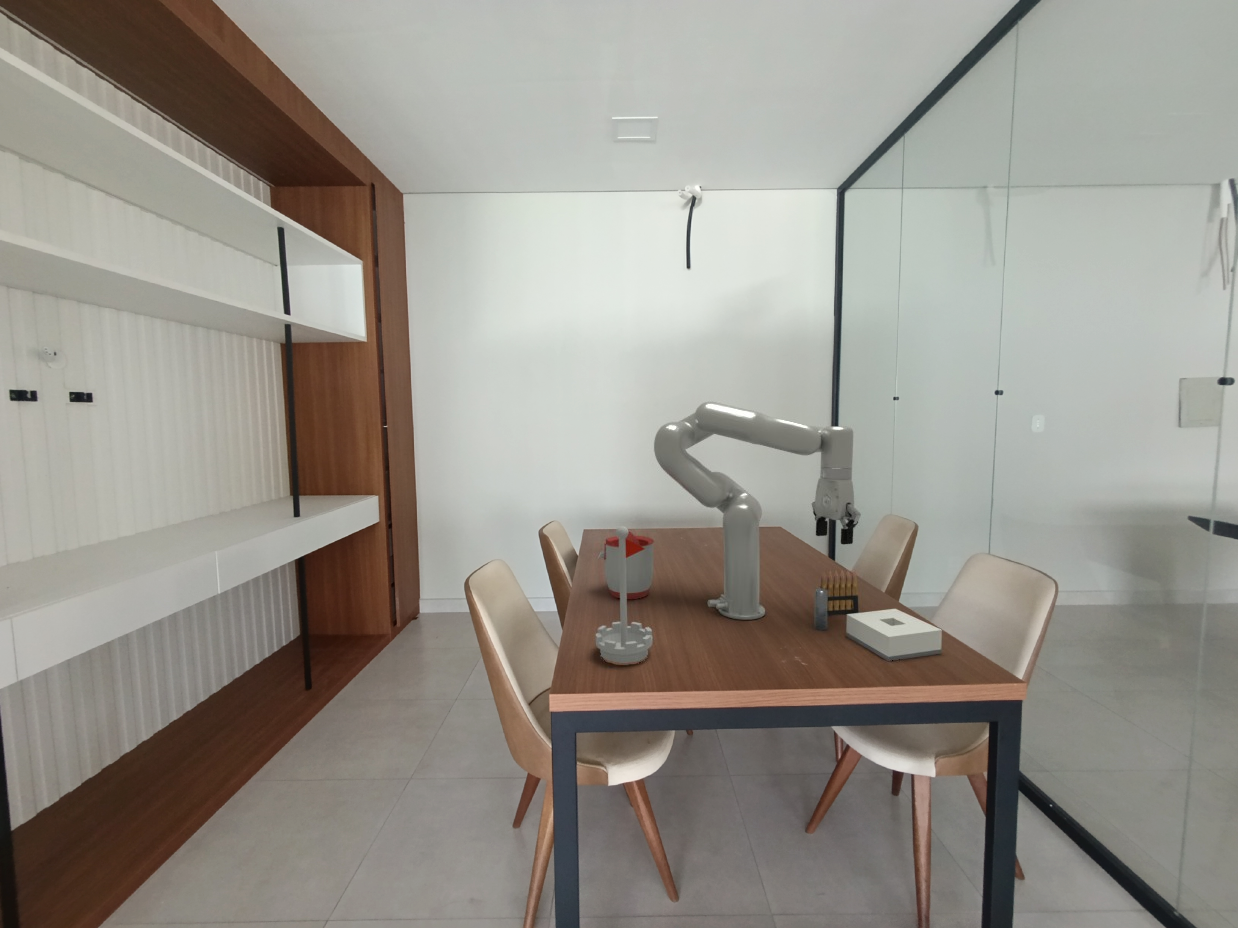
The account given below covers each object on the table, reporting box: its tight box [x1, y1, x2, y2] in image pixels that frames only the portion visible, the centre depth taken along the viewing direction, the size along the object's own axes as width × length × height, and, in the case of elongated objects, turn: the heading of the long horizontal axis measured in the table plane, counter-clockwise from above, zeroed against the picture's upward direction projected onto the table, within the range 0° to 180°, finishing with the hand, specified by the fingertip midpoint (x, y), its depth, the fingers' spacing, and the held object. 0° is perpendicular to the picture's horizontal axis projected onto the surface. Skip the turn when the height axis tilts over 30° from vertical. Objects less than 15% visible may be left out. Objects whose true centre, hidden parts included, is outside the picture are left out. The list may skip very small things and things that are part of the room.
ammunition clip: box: [819, 569, 860, 616], centre depth 143 cm, size 11×2×12 cm, turn 96°
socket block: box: [846, 608, 943, 662], centre depth 123 cm, size 14×14×6 cm
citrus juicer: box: [597, 530, 655, 600], centre depth 162 cm, size 16×17×20 cm
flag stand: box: [595, 525, 653, 663], centre depth 119 cm, size 13×13×30 cm
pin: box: [814, 587, 828, 631], centre depth 133 cm, size 3×3×10 cm
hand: (833, 539), depth 136 cm, fingers open, 9 cm apart
